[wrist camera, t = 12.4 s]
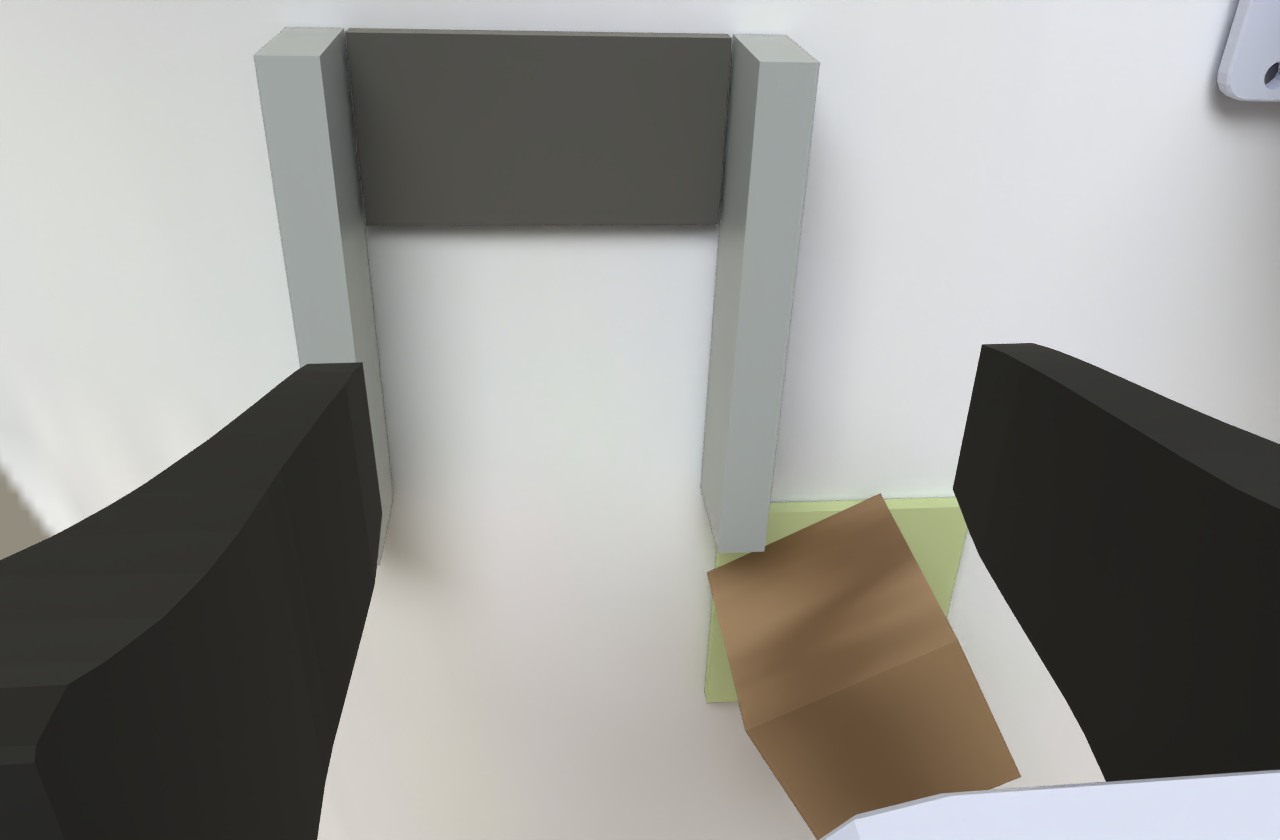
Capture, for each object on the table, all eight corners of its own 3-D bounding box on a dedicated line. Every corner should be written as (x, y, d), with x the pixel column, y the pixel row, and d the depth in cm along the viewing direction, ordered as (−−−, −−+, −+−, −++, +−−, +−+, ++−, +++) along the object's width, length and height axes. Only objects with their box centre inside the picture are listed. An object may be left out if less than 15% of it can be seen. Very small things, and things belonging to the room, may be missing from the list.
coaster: (966, 496, 25) (972, 506, 25) (924, 681, 28) (929, 692, 28) (719, 504, 24) (723, 514, 24) (704, 692, 27) (706, 703, 27)
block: (880, 493, 24) (957, 640, 20) (939, 619, 26) (1020, 776, 22) (706, 572, 25) (745, 730, 20) (778, 689, 27) (827, 854, 23)
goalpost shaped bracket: (786, 35, 19) (819, 62, 17) (742, 486, 24) (764, 551, 22) (285, 27, 18) (253, 54, 16) (348, 497, 23) (329, 566, 21)
